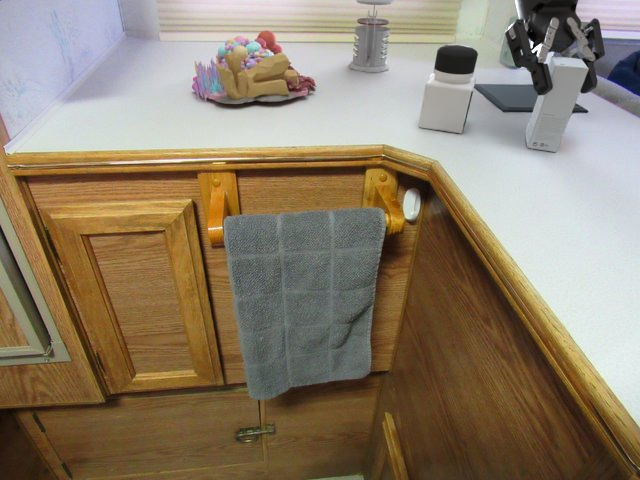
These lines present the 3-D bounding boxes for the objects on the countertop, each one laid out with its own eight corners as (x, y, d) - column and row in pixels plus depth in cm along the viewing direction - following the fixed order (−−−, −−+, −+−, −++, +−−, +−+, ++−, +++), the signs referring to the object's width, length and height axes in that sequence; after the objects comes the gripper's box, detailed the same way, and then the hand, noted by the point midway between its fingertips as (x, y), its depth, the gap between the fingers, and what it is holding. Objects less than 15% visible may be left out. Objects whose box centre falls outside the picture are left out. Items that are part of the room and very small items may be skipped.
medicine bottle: (462, 134, 67) (481, 54, 60) (417, 127, 69) (431, 48, 62) (466, 120, 73) (484, 44, 66) (424, 113, 74) (437, 40, 67)
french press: (390, 62, 103) (405, -63, 89) (388, 75, 94) (404, -63, 79) (350, 59, 105) (359, -65, 90) (344, 72, 95) (352, -65, 81)
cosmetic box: (557, 153, 62) (590, 68, 55) (526, 148, 63) (554, 65, 56) (553, 138, 67) (582, 58, 60) (524, 134, 68) (550, 55, 61)
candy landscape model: (335, 97, 80) (338, 45, 75) (216, 117, 70) (209, 58, 65) (277, 66, 98) (276, 22, 92) (175, 78, 88) (167, 29, 82)
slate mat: (544, 86, 90) (545, 84, 90) (587, 112, 78) (588, 109, 77) (472, 85, 89) (472, 83, 89) (503, 112, 77) (503, 109, 76)
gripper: (514, -37, 56) (541, 79, 54) (605, -35, 59) (634, 75, 57) (483, 3, 63) (506, 107, 61) (565, 3, 66) (589, 102, 64)
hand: (567, 91), depth 59 cm, fingers closed on cosmetic box, 6 cm apart
